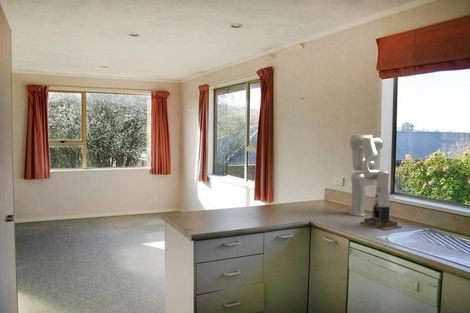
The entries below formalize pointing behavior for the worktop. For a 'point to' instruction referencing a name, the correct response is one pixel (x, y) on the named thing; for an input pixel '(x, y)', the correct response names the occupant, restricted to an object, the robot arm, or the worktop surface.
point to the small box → (382, 215)
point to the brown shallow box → (380, 224)
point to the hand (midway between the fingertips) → (380, 216)
